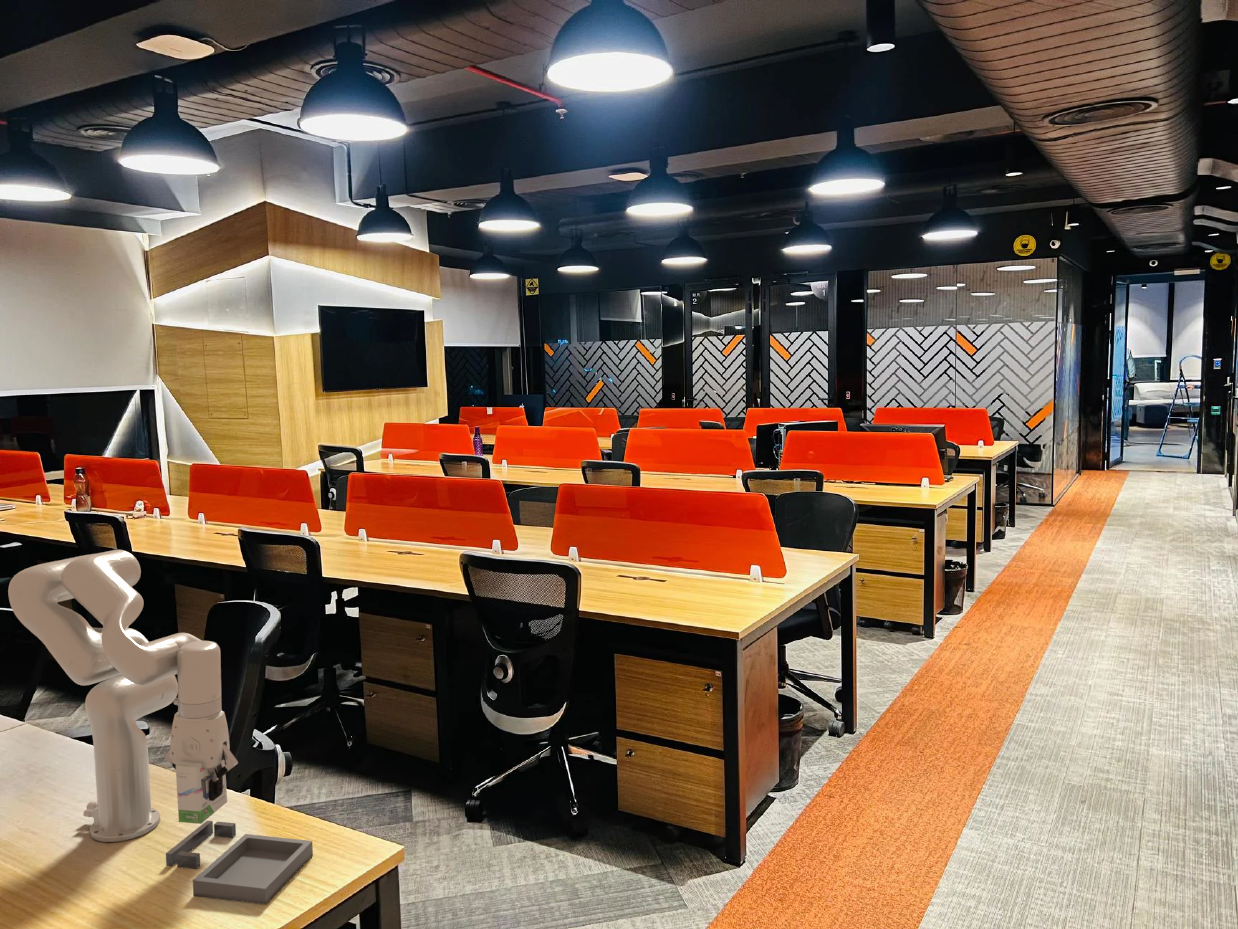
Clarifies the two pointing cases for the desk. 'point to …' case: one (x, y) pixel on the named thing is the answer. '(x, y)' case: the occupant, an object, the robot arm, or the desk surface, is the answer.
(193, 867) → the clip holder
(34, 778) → the desk surface
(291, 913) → the desk surface
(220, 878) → the tray
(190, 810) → the ink box
